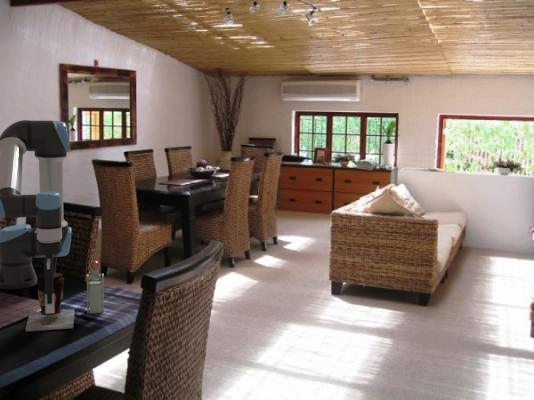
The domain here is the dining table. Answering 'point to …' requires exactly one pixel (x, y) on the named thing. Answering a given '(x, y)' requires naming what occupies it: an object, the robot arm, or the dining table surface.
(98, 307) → the press column
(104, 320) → the dining table surface
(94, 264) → the lever
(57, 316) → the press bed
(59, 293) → the coffee cup
